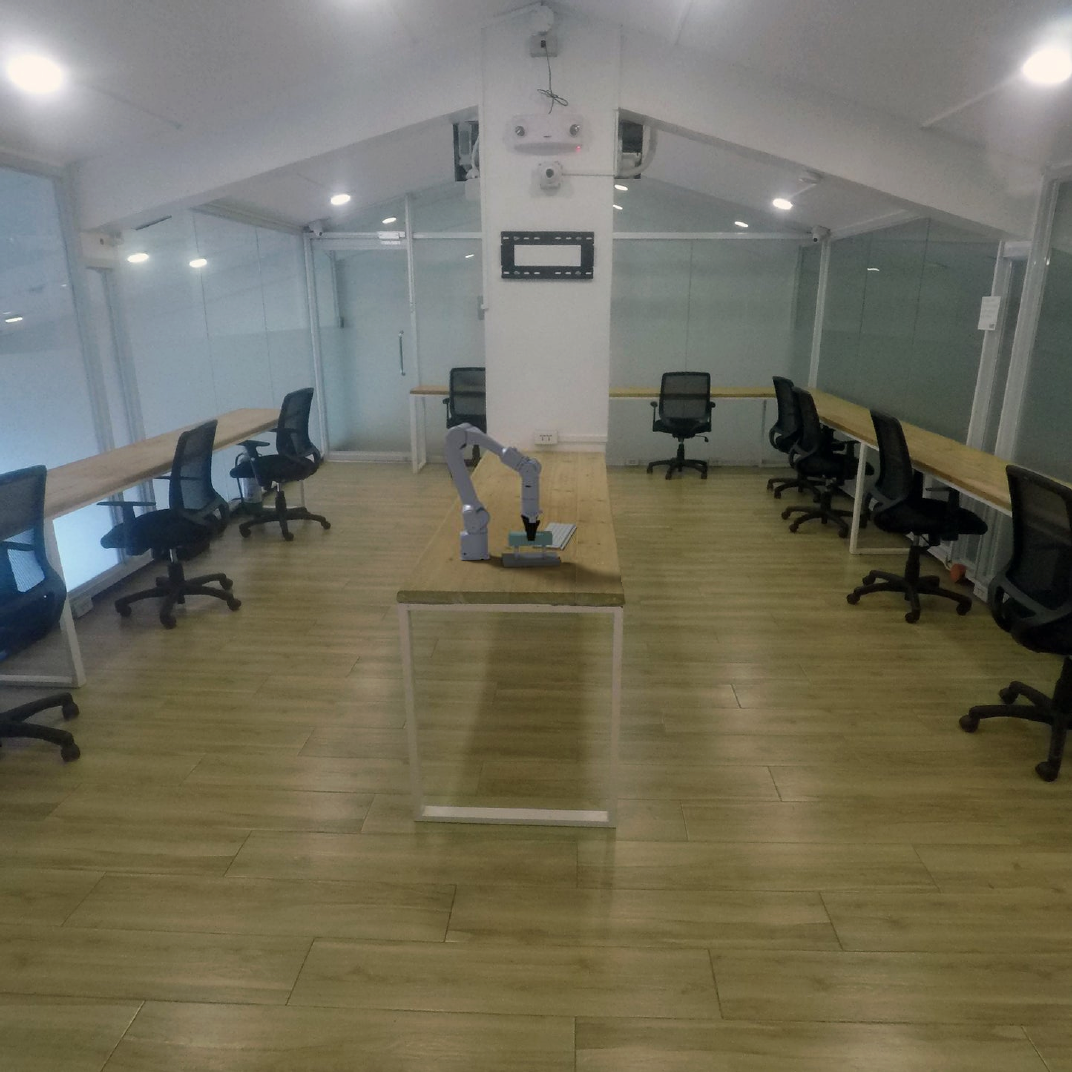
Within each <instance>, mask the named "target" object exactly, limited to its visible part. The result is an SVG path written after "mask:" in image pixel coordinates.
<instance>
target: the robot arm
mask: <svg viewBox="0 0 1072 1072" xmlns="http://www.w3.org/2000/svg"><path fill="white" fill-rule="evenodd" d="M444 439H445V445H444V451H443V453H444V458H445V460H446V464H447V465H448V468H449V471H450V475H451V477H452V480H453V483H454V484H455V487H456V490H457V494H458V496H459V499H460V501H461V503H462V511H461V515H462V519H463V520H462V524H463V525H462V526H463V527H464V530H462V531H460V533H459V535H460V537H459V539H460V547H459V554H460V560H461V561H475V560H476V561H478V560H479V561H480V560H481V559H484V560H490V559H491V556H490V551H489V528H488V524H490V522H491V515H490V512H489V511H488V510H487V509H486V507H485V505H484V503H483V502H482V501H480V499H479V498H478V496H477V492H476V490H475V487H474V484H473V481H472V478H471V477H470V476H471V475H470V472H469V470H468V468H467V465H466V463H465V462H466V461H465V460H464V457H463V453H464V452H465V450H466V448H467V446H471V445H472V446H473V445H478V446H480V447H482V448H483V449H484V450H487V451H489V452H491V453H492V454H494V455H497V456H498V457H499V459H500V460H499V461H500V462H501V463H502V464H504V465H505V466H507V467H509V468H511V470H513V471H515V472H517V473H518V474H519V476H520V478H521V503H520V504H521V510H520V518H521V519H522V523H523V526H524V532H526V534H527V539H528V541H534V540H535V536H536V531H538V529H539V526H540V524H541V520H540V519H538V518H539V515H540V514H544V511H543V509H540V474H541V472H542V465H541V463H540V461H539V460H538V459H536V458H533V457H532V458H531V456H529V455H524V454H523V453H522V452H520V451H518V448H517V447H516V446H514V447H512V446H507V447H505V446H503V445H502V444H500V443H499V442H498V441H496V440H495V439H494V438H492V437H491V436H489V435H488V434H487V433H484V432H483V431H482V430H481V429H480V428H478V427H476V426H473V425H472V424H470V423H469V422H462V423H461V424H458V425H455V426H452V427H450V428H449V429H448V431H447V433H446V434H445V436H444Z"/></svg>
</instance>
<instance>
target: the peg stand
mask: <svg viewBox="0 0 1072 1072" xmlns="http://www.w3.org/2000/svg"><path fill="white" fill-rule="evenodd" d="M519 547H520V546H513V548H514V550H513V551H514V552H509V553H508V552H507V553H506V552H505V553H501V559H502V560H501V561H502V565H504V566H503V568H525V566H533V567H559V566H560V558H559V557H558V553H557V552H556V551H547V549H546V546H545V545H542V549H541V551H539V552H538V551H537V552H535V551H534V552H533V551H532V552H520V551H519V549H520V548H519ZM522 566H524V567H522Z"/></svg>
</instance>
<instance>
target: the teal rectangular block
mask: <svg viewBox="0 0 1072 1072" xmlns="http://www.w3.org/2000/svg"><path fill="white" fill-rule="evenodd" d="M507 543H508V546H509V547H514V546H518V547H527V546H529V547H531V546H532V547H533V546H538V545H553V534H552V532H551V531H544V530H537V531H536V536H535V540H534V541H528V539H527V534H526V532H525V531H508V532H507Z"/></svg>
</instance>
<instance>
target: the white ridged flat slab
mask: <svg viewBox="0 0 1072 1072" xmlns="http://www.w3.org/2000/svg"><path fill="white" fill-rule="evenodd" d="M577 528H578V525H575V523H557V522H550V523H549V524H548V525H547V526H546V528H545V529H544V530H543V531H551V532H552V534H553V545H545V546H546V550H551V549H559V550H558V551H564V550H565V548H566V545H567V544H568V542H569V541H570V539H571V537H572V536H573V534H574V533H575V531H576V530H577ZM573 532H574V533H573ZM571 535H572V536H571ZM537 548H541V549H540V550H542V545H538V546H532V549H537Z"/></svg>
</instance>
